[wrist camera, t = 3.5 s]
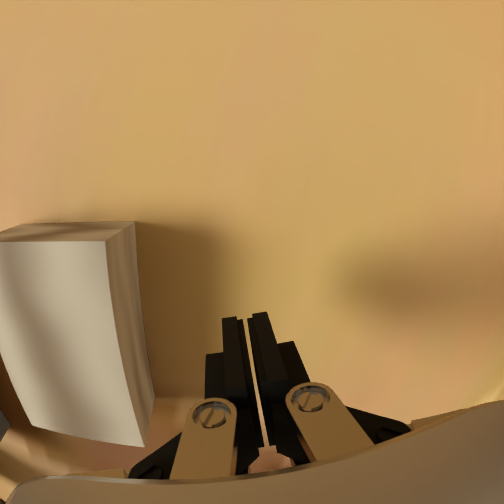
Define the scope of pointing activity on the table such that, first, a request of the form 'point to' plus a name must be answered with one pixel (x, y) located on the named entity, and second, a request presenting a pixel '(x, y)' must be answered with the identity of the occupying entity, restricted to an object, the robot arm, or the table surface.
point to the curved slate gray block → (3, 425)
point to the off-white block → (76, 329)
